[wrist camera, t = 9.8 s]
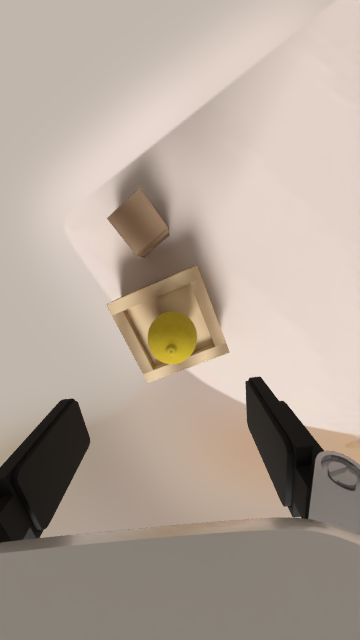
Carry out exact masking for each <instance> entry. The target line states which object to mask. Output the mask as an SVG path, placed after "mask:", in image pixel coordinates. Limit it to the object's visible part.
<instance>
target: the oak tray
mask: <svg viewBox="0 0 360 640" xmlns="http://www.w3.org/2000/svg"><path fill="white" fill-rule="evenodd" d="M107 307H108V309H109V311H110V313H111V315H112V316H113V318H114V320H115V322H116V324H117V326H118V328H119V330H120V331H121V333H122V335H123V337H124V339H125V341H126V343H127V344H128V346H129V348H130V350H131V352H132V354H133V356H134V358H135V360H136V361H137V363H138V365H139V367H140V369H141V371H142V373H143V374H144V377H145V378H146V380H147V382H148V383H149V382H152V381H154V380H157V379H160V378H162V377H165V376H168V375H170V374H173V373H176V372H178V371H181V370H184V369H186V368H189V367H192V366H194V365H197V364H200V363H202V362H205V361H208V360H210V359H213V358H216V357H218V356H221V355H224V354H226V353H229V349H228V347H227V344H226V341H225V339H224V336H223V333H222V331H221V328H220V325H219V323H218V320H217V317H216V314H215V312H214V309H213V306H212V304H211V301H210V298H209V296H208V293H207V290H206V288H205V285H204V282H203V280H202V277H201V274H200V272H199V269H198V266H193V267H190V268H188V269H186V270H184V271H181V272H179V273H177V274H174V275H172V276H170V277H167V278H165V279H163V280H160V281H158V282H156V283H153V284H151V285H149V286H146V287H144V288H142V289H139V290H137V291H135V292H132V293H130V294H128V295H125V296H123V297H121V298H119V299H117V300H115V301H112V302H110V303H108V304H107ZM171 311H175V312H180V313H182V314H185V315H186V316H187V317H189V318H190V320H191V321H192V322H193V323H194V326H195V328H196V332H197V344H196V347H195V349H194V351H193V353H192V354H191V356H190V357H189V358H187V359H186V360H185V361H183V362H181V363H178V364H166V363H163V362H161V361H159V360H158V359H157V358H155V357H154V355H153V354H152V353H151V351H150V348H149V346H148V331H149V328H150V326H151V324H152V322H153V321H154V320H155V319H156V318H157V317H158V316H159V315H161V314H163V313H166V312H171Z"/></svg>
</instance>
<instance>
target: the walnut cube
mask: <svg viewBox="0 0 360 640" xmlns="http://www.w3.org/2000/svg"><path fill="white" fill-rule="evenodd" d="M107 219H108V220H109V222H110V223H111V224H112V225H113V227H114V228H115V229H116V230H117V232H118V233H119V234H120V236H121V237H122V238H123V239H124V241H125V242H126V243H127V244H128V246H129V247H130V248H131V249H132V251H133V252H134V253H135V255H138V256H141V257H144V256H145V255H146V254H148V253H149V252H150V251H151V250H152V249H154V248H155V247H156V246H157V245H158V244H160V243H161V242H162V241H163V240H164V239H165V238H167V237H168V236H169V235H170V234H169V230H168V227H167V225H166V224H165V223H164V221H163V220H162V218H161V217H160V216H159V214H158V213H157V211H156V210H155V209H154V207H153V206H152V204H151V203H150V201H149V200H148V199H147V197H146V196H145V194H144V193H143V192H142V190H141V189H140V188H139V189H138V190H137V191H136V192H135V193H134V194H133V195H132V196H131V197H130V198H128V199H127V200H126V201H125V202H124V203H123V204H122V205H121V206H120V207H119V208H118V209H117V210H115V211H114V212H113V213H112V214H111V215H110V216H109V217H108V218H107Z"/></svg>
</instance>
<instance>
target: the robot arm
mask: <svg viewBox="0 0 360 640" xmlns="http://www.w3.org/2000/svg"><path fill="white" fill-rule="evenodd" d="M246 405H247V423H248V427H249V430H250V432H251V434H252V437H253V439H254V441H255V444H256V446H257V448H258V450H259V453H260V455H261V457H262V459H263V462H264V464H265V466H266V468H267V471H268V473H269V475H270V478H271V480H272V482H273V484H274V487H275V489H276V491H277V494H278V496H279V498H280V500H281V502H282V504H283V506H288V508H289V510H290V512H291V514H292V517H301V518H260V519H246V520H230V521H218V522H207V523H196V524H183V525H172V526H160V527H151V528H139V529H128V530H118V531H107V532H97V533H86V534H76V535H67V536H57V537H47V538H40V535H41V534H42V532H43V530H44V529H46V528H47V526H48V525H49V523H50V521H51V519H52V518H53V516H54V514H55V512H56V510H57V508H58V506H59V504H60V502H61V500H62V498H63V496H64V494H65V492H66V490H67V488H68V486H69V484H70V482H71V480H72V478H73V476H74V474H75V472H76V470H77V468H78V466H79V464H80V463H81V461H82V459H83V457H84V454H85V452H86V451H87V449H88V447H89V444H90V437H89V434H88V431H87V428H86V425H85V422H84V419H83V416H82V413H81V410H80V407H79V404H78V402H77V401H75V400H74V399H64V400H61V401H60V402H59V403H58V404H57V405H56V406H55V407H54V408H53V409H52V411H51V412H50V413H49V414H48V415H47V416H46V417H45V418H44V419H43V421H42V422H41V423H40V424H39V425H38V426H37V427H36V429H34V431H33V432H32V433H31V434H30V435H29V436H28V437H27V438H26V440H25V441H24V442H23V443H22V444H21V445H20V446H19V447H18V448H17V449H16V451H15V452H14V453H13V454H12V455H11V456H10V457H9V458H8V459H7V461H6V462H5V463H4V464H3V465H2V466H1V467H0V640H360V465H359V464H358V463H357V462H355V461H354V460H353V459H351V458H349V457H347V456H345V455H343V454H341V453H338V452H334V451H324V450H323V449H322V448H321V447H320V445H319V444H318V443H317V441H316V440H315V439H314V438H313V436H312V435H311V434H310V433H309V431H308V430H307V429H306V428H305V426H304V425H303V424H302V423H301V421H300V420H299V419H298V418H297V416H296V415H295V414H294V413H293V411H292V410H291V409H290V408H289V406H288V405H287V404H286V403H285V402H284V401H279V400H278V399H277V398H276V397H275V395H274V394H273V393H272V391H271V390H270V389H269V387H268V386H267V385H266V383H265V382H264V381H263V379H262V378H261V377H253V378H249V381H246Z"/></svg>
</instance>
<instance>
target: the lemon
mask: <svg viewBox="0 0 360 640" xmlns="http://www.w3.org/2000/svg"><path fill="white" fill-rule="evenodd" d="M196 344H197V332H196V328H195V326H194V323H193V322H192V321H191V320H190V318H189V317H187V316H186V315H185V314H182V313H180V312H175V311H171V312H166V313H163V314H161V315H159V316H158V317H157V318H156V319H155V320H154V321H153V322H152V324H151V326H150V328H149V331H148V346H149V348H150V351H151V353H152V354H153V355H154V357H155V358H157V359H158V360H159V361H161V362H163V363H166V364H178V363H181V362H183V361H185V360H186V359H187V358H189V357H190V356H191V354H192V353H193V351H194V349H195V347H196Z"/></svg>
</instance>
